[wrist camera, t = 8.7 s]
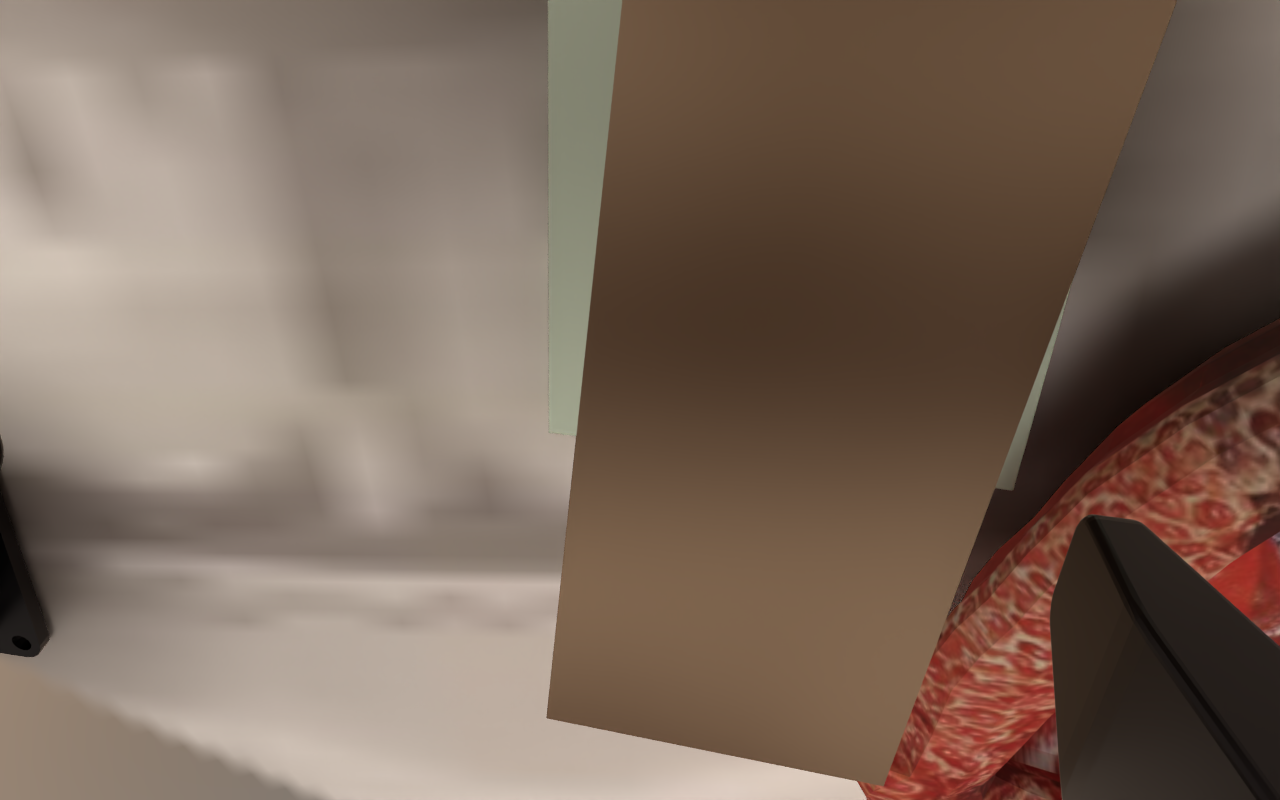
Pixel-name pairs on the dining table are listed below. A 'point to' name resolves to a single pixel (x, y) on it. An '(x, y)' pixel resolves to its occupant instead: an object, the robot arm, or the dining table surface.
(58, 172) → the dining table surface
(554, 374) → the strip
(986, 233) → the brown rectangular block
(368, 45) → the dining table surface
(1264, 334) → the dish
